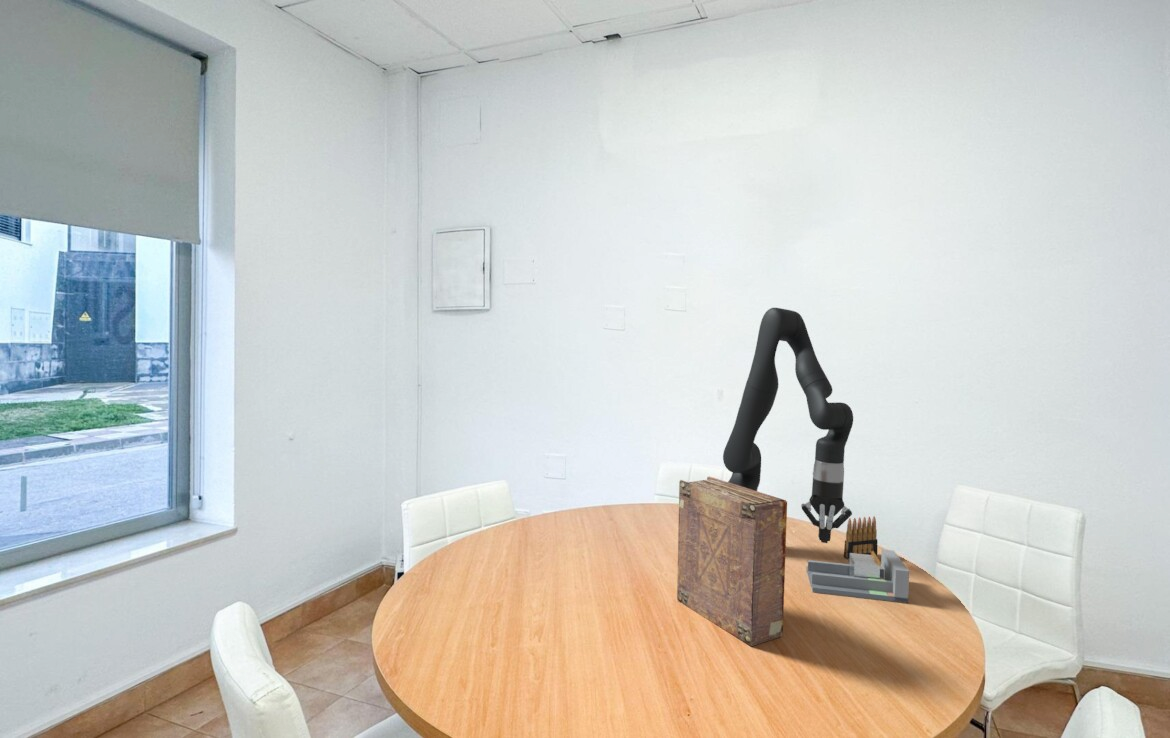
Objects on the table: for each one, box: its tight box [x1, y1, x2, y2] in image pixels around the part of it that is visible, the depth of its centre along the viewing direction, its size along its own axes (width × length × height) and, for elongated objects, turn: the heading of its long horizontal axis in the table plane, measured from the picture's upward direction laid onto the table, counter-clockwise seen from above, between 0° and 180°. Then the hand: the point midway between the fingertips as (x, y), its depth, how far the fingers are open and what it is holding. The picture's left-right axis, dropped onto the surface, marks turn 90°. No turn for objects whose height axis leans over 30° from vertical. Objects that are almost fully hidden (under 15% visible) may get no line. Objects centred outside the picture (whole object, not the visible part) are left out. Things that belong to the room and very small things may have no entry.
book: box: [676, 476, 788, 647], centre depth 134 cm, size 25×9×30 cm, turn 29°
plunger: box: [848, 551, 881, 579], centre depth 152 cm, size 6×8×7 cm
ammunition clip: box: [843, 515, 878, 560], centre depth 175 cm, size 11×2×12 cm, turn 106°
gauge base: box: [805, 548, 910, 604], centre depth 153 cm, size 22×15×8 cm
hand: (824, 541), depth 154 cm, fingers closed
